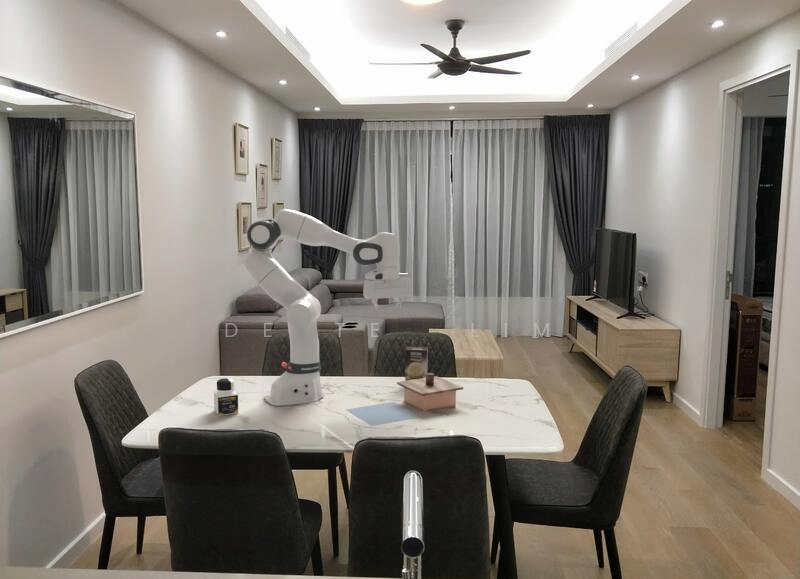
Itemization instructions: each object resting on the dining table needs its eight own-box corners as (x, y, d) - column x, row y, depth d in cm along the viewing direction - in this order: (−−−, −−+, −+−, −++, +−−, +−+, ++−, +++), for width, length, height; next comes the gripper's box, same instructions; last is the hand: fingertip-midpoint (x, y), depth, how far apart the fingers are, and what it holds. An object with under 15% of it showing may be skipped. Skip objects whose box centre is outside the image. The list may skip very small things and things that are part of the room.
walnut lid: (422, 396, 231) (422, 382, 231) (396, 384, 246) (397, 371, 246) (463, 389, 240) (463, 376, 240) (436, 378, 256) (436, 366, 255)
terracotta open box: (423, 412, 235) (424, 393, 234) (404, 402, 247) (404, 384, 246) (455, 406, 242) (455, 388, 241) (434, 397, 254) (435, 379, 253)
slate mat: (371, 427, 218) (371, 425, 218) (345, 411, 235) (345, 409, 235) (422, 418, 228) (422, 416, 228) (393, 403, 246) (393, 401, 245)
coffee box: (404, 387, 267) (404, 349, 265) (405, 383, 273) (406, 346, 271) (426, 388, 266) (427, 350, 264) (427, 384, 272) (428, 347, 270)
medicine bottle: (218, 416, 228) (217, 383, 227) (214, 410, 235) (213, 378, 233) (238, 413, 232) (237, 380, 230) (233, 407, 238) (233, 376, 237)
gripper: (406, 272, 260) (406, 306, 261) (361, 274, 249) (361, 309, 251) (415, 273, 254) (414, 308, 256) (369, 275, 244) (369, 312, 246)
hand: (387, 309), depth 253 cm, fingers open, 8 cm apart
